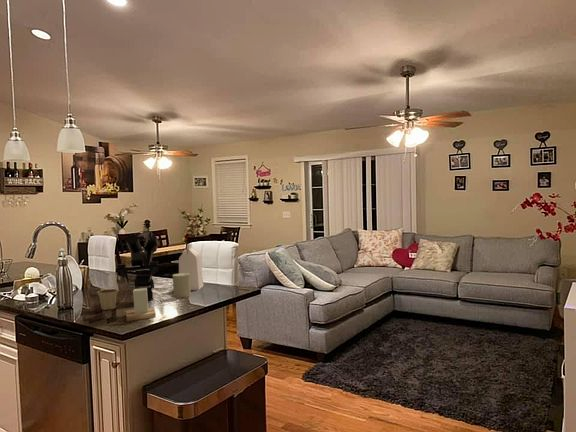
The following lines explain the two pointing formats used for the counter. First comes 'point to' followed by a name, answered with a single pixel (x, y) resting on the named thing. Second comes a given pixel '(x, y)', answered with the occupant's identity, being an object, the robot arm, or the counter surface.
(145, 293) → the canister
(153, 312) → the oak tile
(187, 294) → the olive grey block
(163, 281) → the counter surface
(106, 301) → the flower pot
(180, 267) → the milk
